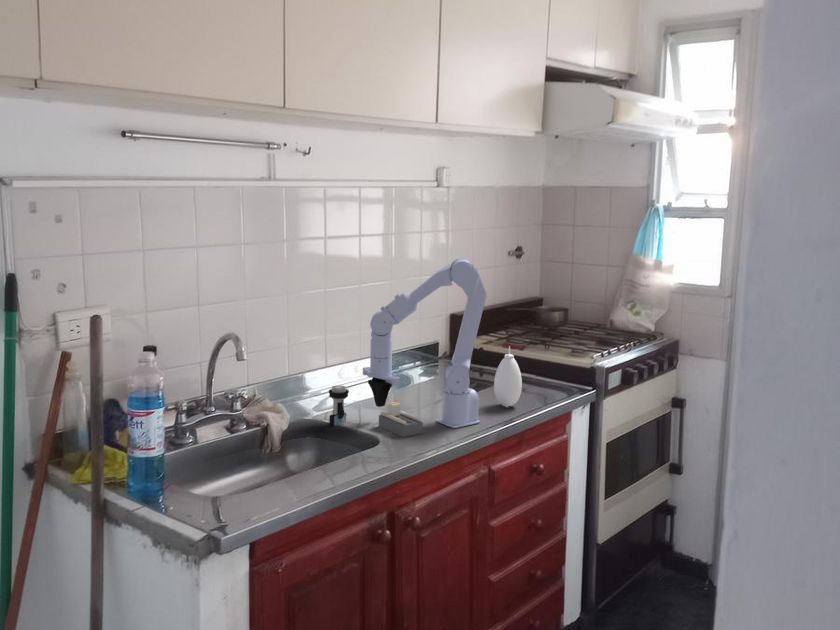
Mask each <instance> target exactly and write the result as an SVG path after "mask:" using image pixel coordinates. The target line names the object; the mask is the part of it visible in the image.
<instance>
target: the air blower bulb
mask: <svg viewBox="0 0 840 630" xmlns="http://www.w3.org/2000/svg"><path fill="white" fill-rule="evenodd" d="M521 374H522V373H521V369H520V367H519V364H518V362H517V360H516V359H515V357H514V354H511V346H510V345H509V346H508V353H505V354H504V357H503V358H502V360H501V361H500V363H499V365H498V366H497V368H496V371H495V375H494V380H493V381H494V382H493V391H494V396H495V398H496V401H497V402H498V403H500V405H501V406H503V407H504V406H510V407H512V406H514V404H516V403H518V401H519V399H520V397H521V394H522V387H523V386H522V385H523V382H522V381H523V379H522V375H521Z"/></svg>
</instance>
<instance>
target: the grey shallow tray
mask: <svg viewBox="0 0 840 630" xmlns="http://www.w3.org/2000/svg"><path fill="white" fill-rule="evenodd" d="M423 425H424V424H423V421H422V418H421V417H418V416H416V415H413V414H411V413H408V412H406V411H403V410H401V409H400V415H397V416H392V415H389V414H387V412H384V411H381V412H380V414H379V415H378V427H380V428H382V429H385V430H387V431H389V432H391V433H394V434H395V435H397V436H400V437H402V438H407V437H411V436H416V435H420V434H423Z"/></svg>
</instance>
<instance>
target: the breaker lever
mask: <svg viewBox="0 0 840 630" xmlns="http://www.w3.org/2000/svg"><path fill="white" fill-rule="evenodd" d="M386 403H387V402H386ZM386 405H387V407H386V408H387V409H386V411H387V412H386V413H387V414H389V415H392V416H397V415H400V410H401V403H400V402H397V401H394V402H393V401H392V402H388V403H387V404H386Z"/></svg>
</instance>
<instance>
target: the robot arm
mask: <svg viewBox="0 0 840 630" xmlns="http://www.w3.org/2000/svg"><path fill="white" fill-rule="evenodd" d="M453 283H454V284H456V285H457V286H458V287H460V288H461V289H462V291H463V292H464V294H465V295H466V296H467V301H466V304H465V307H464V311H463V316H462V319H461V324H460V328H459V332H458V337H457V340H456V344H455V349H454V352H453V354H452V358H451V361H450V363H449V364H448V365H447V367H446V368H445V371H444V377H445V386H444V387H443V389H442V390H443V391H442V395H443V396H442V417H441V418H436V419H435V422H437V423H439V424H441V425H445V426H447V427H450V428H452V429H458V428H463V427H467V426H470V425H475V424H479V423H481V420H479V403H480V399H479V395H478V393H477V391H476V390H475V389H473V388H472V387H471V388H470V382H471V380H470V376H469V372H470V368H471V360H472V356H473V351H474V347H475V343H476V340H477V339H476V338H477V335H478V331H479V327H480V324H481V319H482V314H483V311H484V308H485V303H486V300H487V292H486V289H485V286H484V284H483V281H482V279H481V276H480V273H479V271H478V269H477V268H476V267H475V266H474V264H473V263H472V262H471V261H470V260H469V259H468V258H463V257H459V258H455V260H453V261H452V262H451V263H448V264H447V265H445V266H444V267H442V268H441V269H439V270H438V271H436V272H435V273H433V274H432V275H431V276H430V277H429V278H427V280H425V281H424V282H423V283H422V284H420V285H419V286H418V287H417V288H415V289H414V290H413V291H411V292H410V293H407V292H402V293H401V294H399V293H398V294H396V295H394V299H393V300H392V301H391V302H389V303H388V304H387V305H385V306H384V305H382V306H381V307H380V310H379V311H377V312H375V313H374V314H373V315H372V317H371V320H370V323H369V324H370V328H371V332H370V337H371V339H370V362H369V365H370V366H365V367H362V375H364V376H366V377H368V378H371V379H369V380H368V381H367V384H368V385H369V387H370V389H371V392H372V395H373V399H374V403H375V407H378V408H380V407H385V405H386V403H387V400H388V395H389V394H390V391H391V389H392V387H393V386H400V385H401V377H399V376H397V375H396V374H395V373H394V372H393V371H392V370H393V366H392V365H393V363H392V362H393V339H392V330H393V328H394V325H398V324H400V323H401V322H403V321H404V320H406V319H407V318H408V317H409V316H410V315H412V314H414V312H416V311H417V306H418V304H419V302H421V301H422V300H424V299H425V298H427V297H429V296H430V295H431V294H432V293H434V292H435V291H437V290H438V289H439V288H441V287H448V286H449V287H450V286H451V287H452V286H453Z"/></svg>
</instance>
